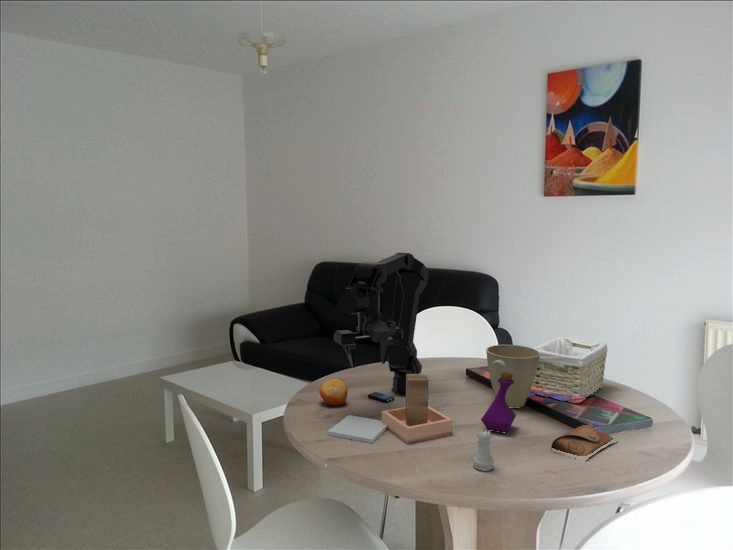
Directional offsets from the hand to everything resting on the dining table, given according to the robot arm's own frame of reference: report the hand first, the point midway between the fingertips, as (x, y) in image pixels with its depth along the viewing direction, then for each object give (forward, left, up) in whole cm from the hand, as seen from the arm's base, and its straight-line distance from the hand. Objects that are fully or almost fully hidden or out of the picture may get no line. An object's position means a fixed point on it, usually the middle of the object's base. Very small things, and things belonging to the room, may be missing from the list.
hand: (368, 365), depth 150 cm
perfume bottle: (-24, +26, -13) cm, 38 cm away
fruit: (+6, -10, -13) cm, 18 cm away
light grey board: (+8, +11, -13) cm, 19 cm away
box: (-5, +17, -13) cm, 22 cm away
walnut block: (-5, +17, -12) cm, 22 cm away
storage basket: (-64, +12, -13) cm, 66 cm away
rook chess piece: (-7, +41, -13) cm, 44 cm away
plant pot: (-40, +13, -13) cm, 44 cm away
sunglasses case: (-36, +43, -14) cm, 58 cm away
